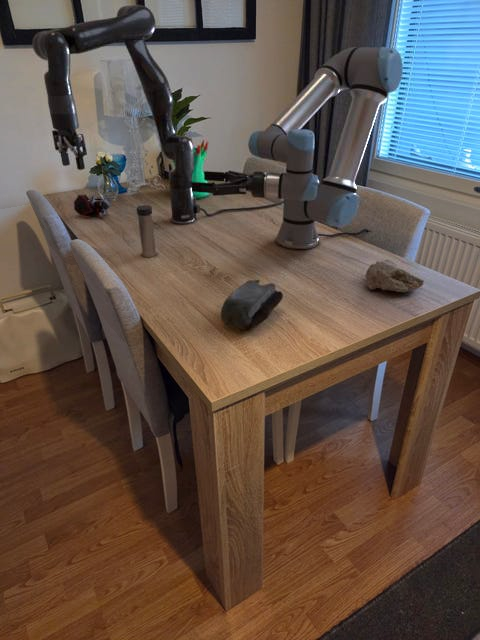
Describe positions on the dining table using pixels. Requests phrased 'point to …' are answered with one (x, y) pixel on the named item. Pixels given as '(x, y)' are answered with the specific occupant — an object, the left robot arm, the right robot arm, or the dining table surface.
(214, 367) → the dining table surface
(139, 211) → the lid
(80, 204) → the toy
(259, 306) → the dark grey soft lump
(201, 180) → the toy
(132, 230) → the dining table surface
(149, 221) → the brown long cylinder
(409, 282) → the artifact
